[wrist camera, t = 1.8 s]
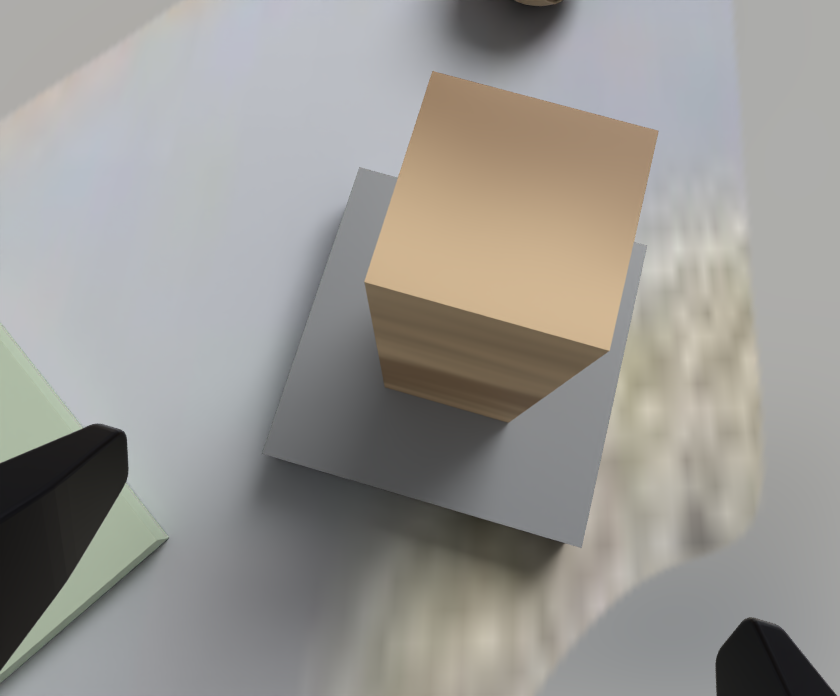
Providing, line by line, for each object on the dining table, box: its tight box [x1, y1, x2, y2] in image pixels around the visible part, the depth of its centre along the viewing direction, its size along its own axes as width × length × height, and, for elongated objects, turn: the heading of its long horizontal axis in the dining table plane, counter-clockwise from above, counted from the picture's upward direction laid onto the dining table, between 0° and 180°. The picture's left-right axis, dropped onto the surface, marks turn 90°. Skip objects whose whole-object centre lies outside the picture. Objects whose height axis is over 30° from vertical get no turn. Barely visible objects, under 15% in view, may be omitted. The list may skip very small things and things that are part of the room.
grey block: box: [262, 167, 647, 548], centre depth 21 cm, size 10×10×2 cm
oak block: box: [364, 71, 658, 423], centre depth 15 cm, size 4×4×10 cm
